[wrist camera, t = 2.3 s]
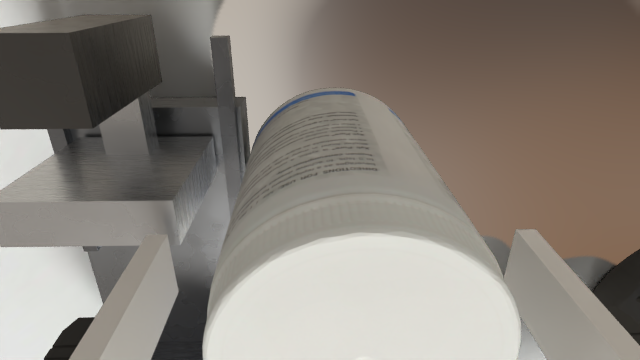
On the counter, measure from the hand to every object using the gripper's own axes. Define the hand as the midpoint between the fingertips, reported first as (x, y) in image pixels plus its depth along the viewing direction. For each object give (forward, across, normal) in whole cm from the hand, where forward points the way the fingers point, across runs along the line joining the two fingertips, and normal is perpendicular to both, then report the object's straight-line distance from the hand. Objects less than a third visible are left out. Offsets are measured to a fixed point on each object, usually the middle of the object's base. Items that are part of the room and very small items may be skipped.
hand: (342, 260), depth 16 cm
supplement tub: (+10, 0, 0) cm, 10 cm away
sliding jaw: (+8, +10, -4) cm, 13 cm away
